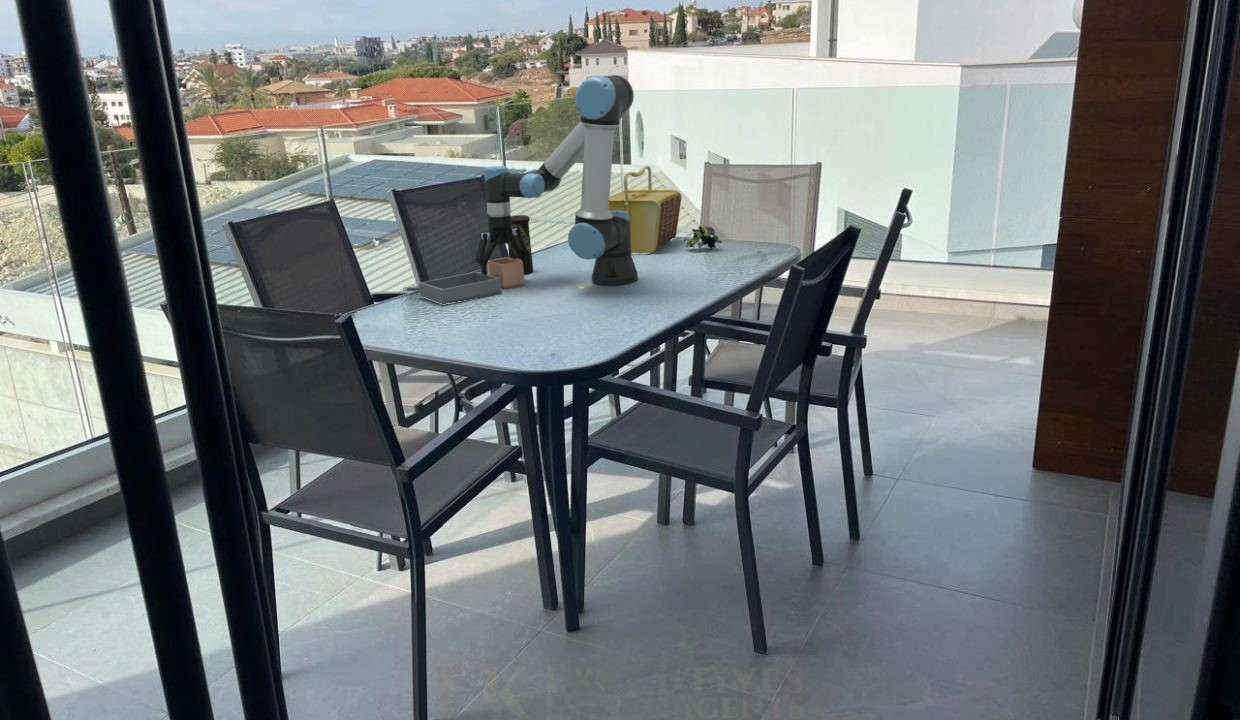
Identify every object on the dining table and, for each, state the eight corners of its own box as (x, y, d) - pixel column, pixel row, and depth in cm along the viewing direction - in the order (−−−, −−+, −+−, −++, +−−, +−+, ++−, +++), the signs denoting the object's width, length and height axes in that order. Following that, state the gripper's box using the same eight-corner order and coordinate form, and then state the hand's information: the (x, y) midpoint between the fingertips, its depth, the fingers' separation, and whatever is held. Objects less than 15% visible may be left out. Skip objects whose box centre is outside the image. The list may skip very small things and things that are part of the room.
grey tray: (501, 293, 290) (500, 278, 289) (443, 305, 279) (441, 289, 277) (477, 286, 302) (476, 271, 301) (420, 298, 291) (418, 282, 289)
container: (522, 276, 314) (517, 218, 308) (503, 273, 320) (498, 216, 314) (539, 271, 321) (534, 214, 315) (520, 268, 326) (515, 213, 320)
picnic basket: (661, 256, 335) (658, 173, 326) (596, 254, 344) (591, 174, 335) (684, 241, 361) (681, 164, 352) (623, 240, 370) (619, 165, 361)
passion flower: (710, 263, 344) (728, 238, 338) (695, 263, 335) (713, 237, 330) (690, 244, 348) (708, 219, 343) (675, 244, 339) (693, 218, 334)
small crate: (524, 284, 301) (522, 260, 298) (503, 289, 296) (501, 265, 294) (509, 280, 308) (506, 257, 306) (488, 284, 304) (486, 261, 301)
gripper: (524, 210, 305) (527, 274, 311) (460, 218, 291) (466, 284, 297) (536, 212, 299) (539, 277, 306) (472, 220, 285) (477, 288, 292)
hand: (503, 281), depth 302 cm, fingers open, 11 cm apart
